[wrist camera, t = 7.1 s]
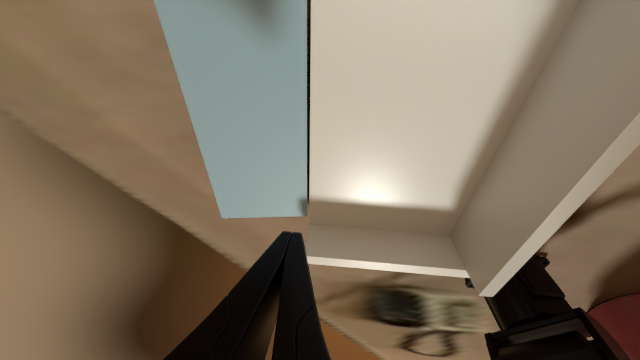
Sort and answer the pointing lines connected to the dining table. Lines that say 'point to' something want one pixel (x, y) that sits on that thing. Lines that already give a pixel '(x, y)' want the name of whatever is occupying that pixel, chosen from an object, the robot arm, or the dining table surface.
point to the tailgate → (245, 98)
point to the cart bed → (463, 128)
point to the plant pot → (621, 322)
